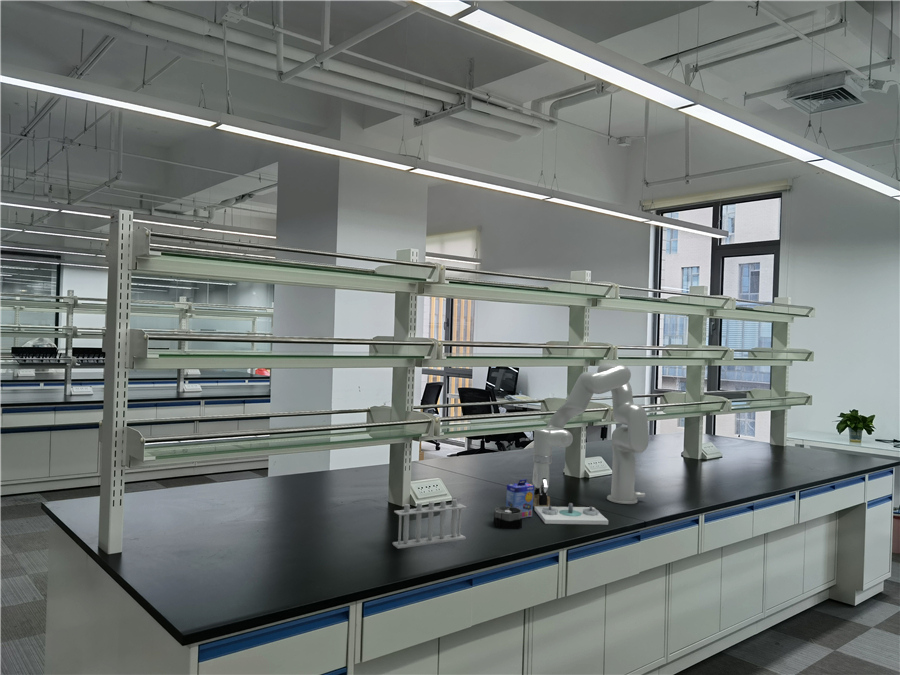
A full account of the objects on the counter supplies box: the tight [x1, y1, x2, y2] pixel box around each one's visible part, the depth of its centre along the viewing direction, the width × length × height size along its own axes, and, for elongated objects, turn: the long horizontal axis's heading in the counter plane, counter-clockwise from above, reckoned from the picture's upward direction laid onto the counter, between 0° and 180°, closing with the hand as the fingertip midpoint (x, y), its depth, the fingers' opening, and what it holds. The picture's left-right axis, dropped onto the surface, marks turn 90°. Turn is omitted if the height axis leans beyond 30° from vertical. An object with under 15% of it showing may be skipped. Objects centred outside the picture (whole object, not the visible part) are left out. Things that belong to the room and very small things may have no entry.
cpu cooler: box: [493, 506, 523, 529], centre depth 237 cm, size 10×6×10 cm
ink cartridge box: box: [505, 478, 535, 519], centre depth 248 cm, size 10×6×14 cm, turn 125°
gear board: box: [534, 502, 609, 526], centre depth 250 cm, size 24×18×5 cm
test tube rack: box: [392, 498, 468, 550], centre depth 214 cm, size 25×4×13 cm, turn 119°
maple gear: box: [533, 494, 551, 508], centre depth 265 cm, size 8×8×4 cm
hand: (540, 501), depth 265 cm, fingers closed on maple gear, 7 cm apart
